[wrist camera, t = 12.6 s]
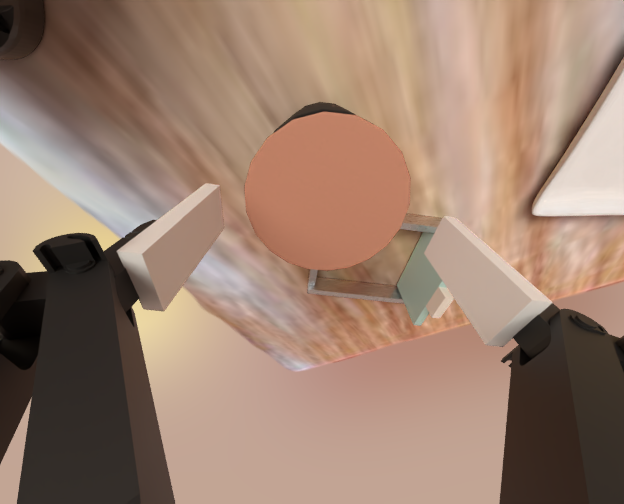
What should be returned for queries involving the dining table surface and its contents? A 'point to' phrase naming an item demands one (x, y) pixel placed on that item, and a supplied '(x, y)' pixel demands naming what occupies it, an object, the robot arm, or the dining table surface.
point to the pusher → (423, 285)
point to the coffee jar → (327, 189)
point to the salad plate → (591, 162)
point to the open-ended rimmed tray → (362, 288)
